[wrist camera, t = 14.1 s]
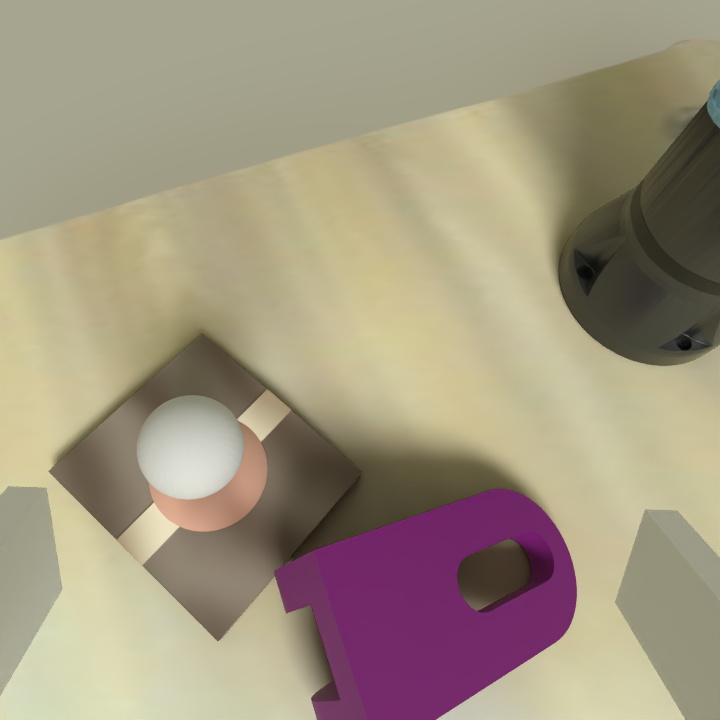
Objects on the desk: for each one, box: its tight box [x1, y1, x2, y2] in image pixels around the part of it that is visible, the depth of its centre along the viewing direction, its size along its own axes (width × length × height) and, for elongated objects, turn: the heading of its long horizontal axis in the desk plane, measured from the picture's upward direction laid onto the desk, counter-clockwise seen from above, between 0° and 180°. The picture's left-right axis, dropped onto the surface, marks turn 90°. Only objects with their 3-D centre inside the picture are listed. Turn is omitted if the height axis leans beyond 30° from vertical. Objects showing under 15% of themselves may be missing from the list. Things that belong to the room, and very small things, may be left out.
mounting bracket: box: [274, 489, 577, 720], centre depth 37 cm, size 10×9×19 cm
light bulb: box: [137, 395, 244, 500], centre depth 34 cm, size 6×6×10 cm
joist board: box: [49, 333, 362, 641], centre depth 39 cm, size 14×16×1 cm
